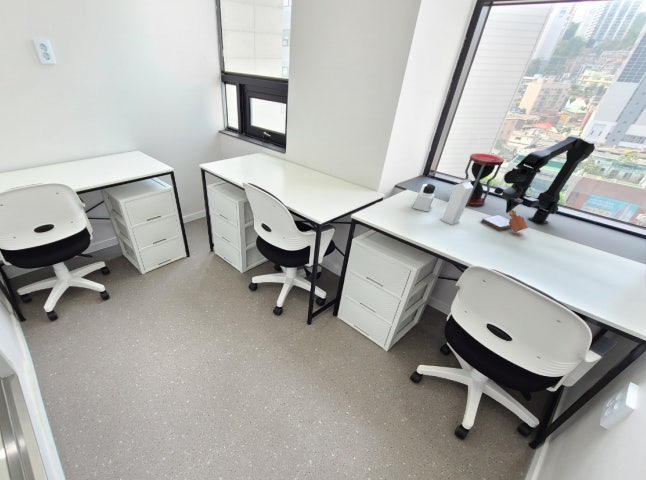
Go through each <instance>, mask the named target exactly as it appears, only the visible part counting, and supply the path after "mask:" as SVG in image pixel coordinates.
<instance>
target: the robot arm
mask: <svg viewBox="0 0 646 480" xmlns="http://www.w3.org/2000/svg"><path fill="white" fill-rule="evenodd" d="M595 149H596V145H595V143H594V142H590V141H586V140H584V139H583V138H581V137H578V136H575V135H569V136H567V137H566V138H565V139H563V140H561V141H559V142H557V143H555V144H553V145H551V146H549V147H547V148H545V149H541V150H540V149H539V150H535V151H532V152H529V153H528V154H527V155H526V156H525V157H524V158H522V160H520V161H519V163H518V164H517V165H515V167H513V168H512V169H511V170H508V171H507V172H506V173H505V174H504V176H503V181H504V183H505V184H509V185H510V184H512V185H510V186H509V187H507V186H505V185H503V186H496V188H495V189H494V191H493V193H494V194H496V195H501V199H504V200H505V202H506V206H505V213H507V214H508V213H509V211H511V210H515V208H516V207H518V206H519V205H520V204H522V205H523V206H525V207H526V208H535V209H536V211H535V212H534V214H533V216H532V217H528V220H529V221H531V222H534V223H536V224H538V225H543V224H547V223H549V220H547V219H548V218H549V216H550V215H554V214H556V213H557V212H558V211H559V201H560V200H561V195H560V194H561V191H562V190H563V188H564V187H565V185H566V184H567V182H568V180H569V179H570V178H571V177H572V175H573V173H574V172H575V170H576V169H577V167H578V165H580V163H582V162H583V161H585V160H587V159H588V158H589V157H590V155H591V154H592V153H594V151H595ZM564 153H565V157H566V159H565V161H564V164H562V166H561V168H560V170H559V171H558V173H556V175H555V177H554V179H553V181H552V182H551V184H550V186H549V187H548V189H546V190H544V191H543V192H540V193H539V194H538V196H537V197H536V198H535V197H532V196H530V197H526V196H527V195H528V194H527V192H528V190H529V189H530V188H531V187H532V183H533V181H534V179H535V177H536V175H537V174H540V173H541V172H542V171H541V169H542V168H543V167H545V166H547V165H548V164H549V161H551V160H552V159H554V158H556V157H557V156H558V157H559V156H560V155H562V154H564Z"/></svg>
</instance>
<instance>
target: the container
mask: <svg viewBox="0 0 646 480" xmlns="http://www.w3.org/2000/svg"><path fill="white" fill-rule="evenodd" d="M435 190H436V186H435V185H434V184H431V183H424V184H422V185H421V189H420V191H419V192H418V194H417V195H416V198H415V201H414V204H413V207H412V208H413V209H414V210H418V211H423V212H429V210H430V208H431V206H432V203H433V200H434V199H435V198H434V197H435V195H436V194H435Z"/></svg>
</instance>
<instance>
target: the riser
mask: <svg viewBox="0 0 646 480" xmlns="http://www.w3.org/2000/svg"><path fill="white" fill-rule="evenodd" d="M508 222H510V219H508V218H506V217H504V216H501V215H499V214H498V215H492V216H487V217H483V218H481V221H480V223H482V224H483V225H486V226H487V227H490V228H491V229H493V230H496V231H497V232H499V231H504V230H508V229H511V227H510V225H509V223H508Z"/></svg>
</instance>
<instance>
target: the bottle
mask: <svg viewBox="0 0 646 480" xmlns="http://www.w3.org/2000/svg"><path fill="white" fill-rule="evenodd" d="M507 214H508V216H509V217H510V218H509V220H510V222H508V223H509V225H510V227H511V228H510V229H511V231H512V233H513V234H517V233H520V232H523V231H525V230H528V229H529V226H528V224H527V222H526V220H525V218H524V216H521V215H518V214H517V211H516V210H515V209H512V210H511V211H509V213H507Z"/></svg>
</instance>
